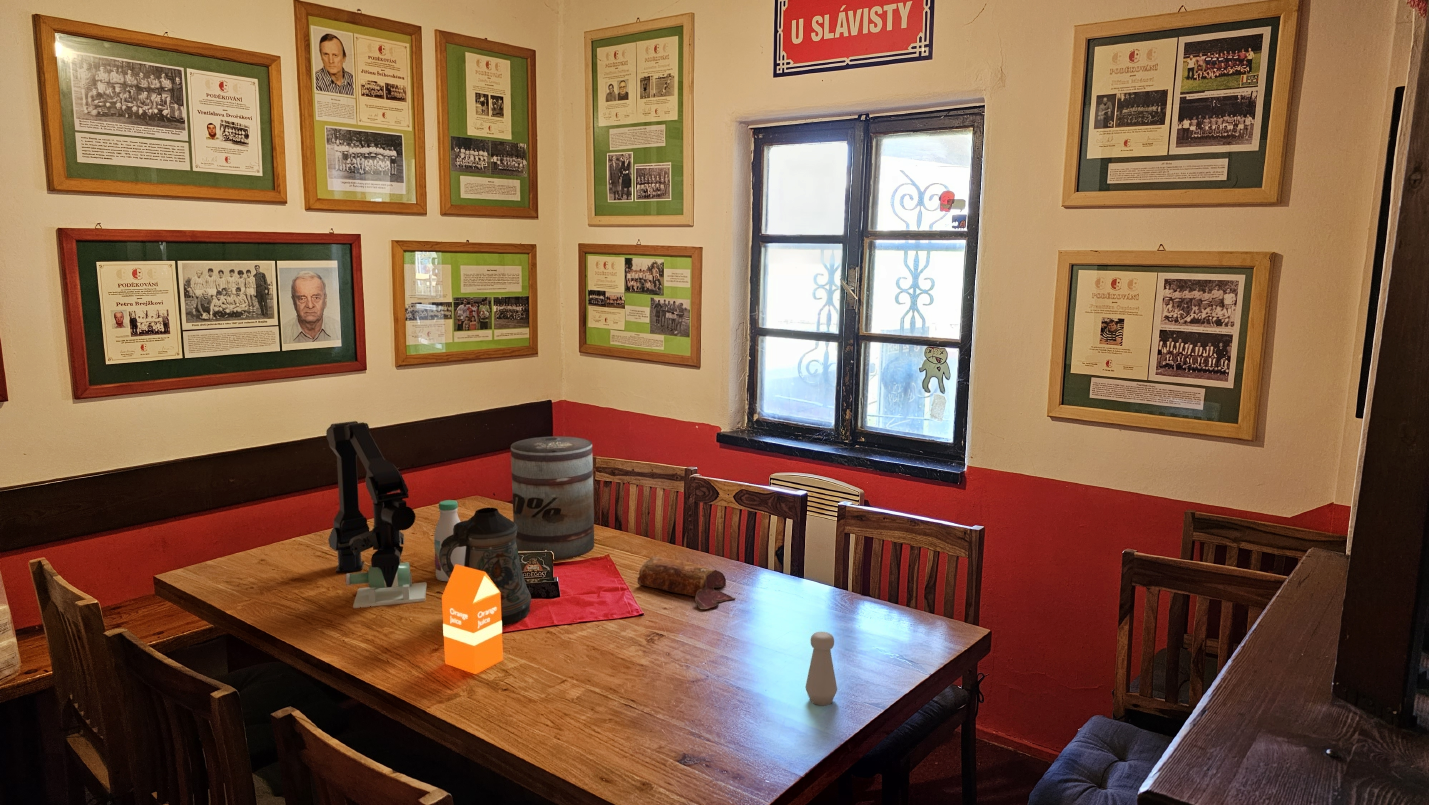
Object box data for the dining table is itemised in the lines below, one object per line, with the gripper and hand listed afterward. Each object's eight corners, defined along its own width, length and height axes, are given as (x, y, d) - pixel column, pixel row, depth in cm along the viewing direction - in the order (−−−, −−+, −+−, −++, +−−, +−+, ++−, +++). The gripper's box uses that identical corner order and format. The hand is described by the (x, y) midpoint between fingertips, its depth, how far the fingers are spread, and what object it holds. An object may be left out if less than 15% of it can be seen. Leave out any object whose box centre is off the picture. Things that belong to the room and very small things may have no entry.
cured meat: (712, 614, 204) (713, 586, 204) (626, 593, 218) (626, 566, 217) (750, 592, 220) (751, 565, 219) (668, 573, 233) (668, 548, 232)
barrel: (501, 544, 254) (497, 442, 249) (571, 530, 267) (568, 433, 263) (535, 566, 236) (532, 456, 231) (608, 549, 250) (606, 446, 245)
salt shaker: (803, 693, 167) (804, 628, 165) (832, 692, 168) (834, 627, 165) (808, 708, 161) (810, 641, 159) (839, 707, 162) (841, 640, 160)
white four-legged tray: (353, 608, 207) (352, 592, 207) (358, 591, 218) (357, 576, 217) (424, 601, 212) (424, 585, 211) (426, 585, 222) (425, 570, 222)
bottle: (410, 580, 218) (409, 558, 217) (409, 589, 213) (407, 567, 212) (348, 586, 215) (347, 563, 214) (345, 595, 209) (344, 572, 208)
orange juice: (475, 674, 174) (470, 578, 171) (444, 663, 179) (439, 569, 176) (503, 659, 181) (500, 566, 178) (473, 649, 186) (469, 558, 182)
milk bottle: (471, 572, 232) (468, 498, 228) (460, 582, 224) (456, 506, 221) (443, 571, 232) (439, 497, 229) (431, 581, 225) (427, 505, 222)
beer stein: (545, 607, 208) (542, 504, 204) (492, 638, 191) (488, 527, 187) (489, 596, 215) (485, 496, 211) (433, 625, 198) (427, 517, 194)
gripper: (355, 512, 219) (359, 572, 221) (345, 535, 201) (350, 600, 203) (402, 509, 222) (405, 568, 224) (397, 531, 204) (401, 595, 206)
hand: (390, 582), depth 214 cm, fingers closed on bottle, 6 cm apart
